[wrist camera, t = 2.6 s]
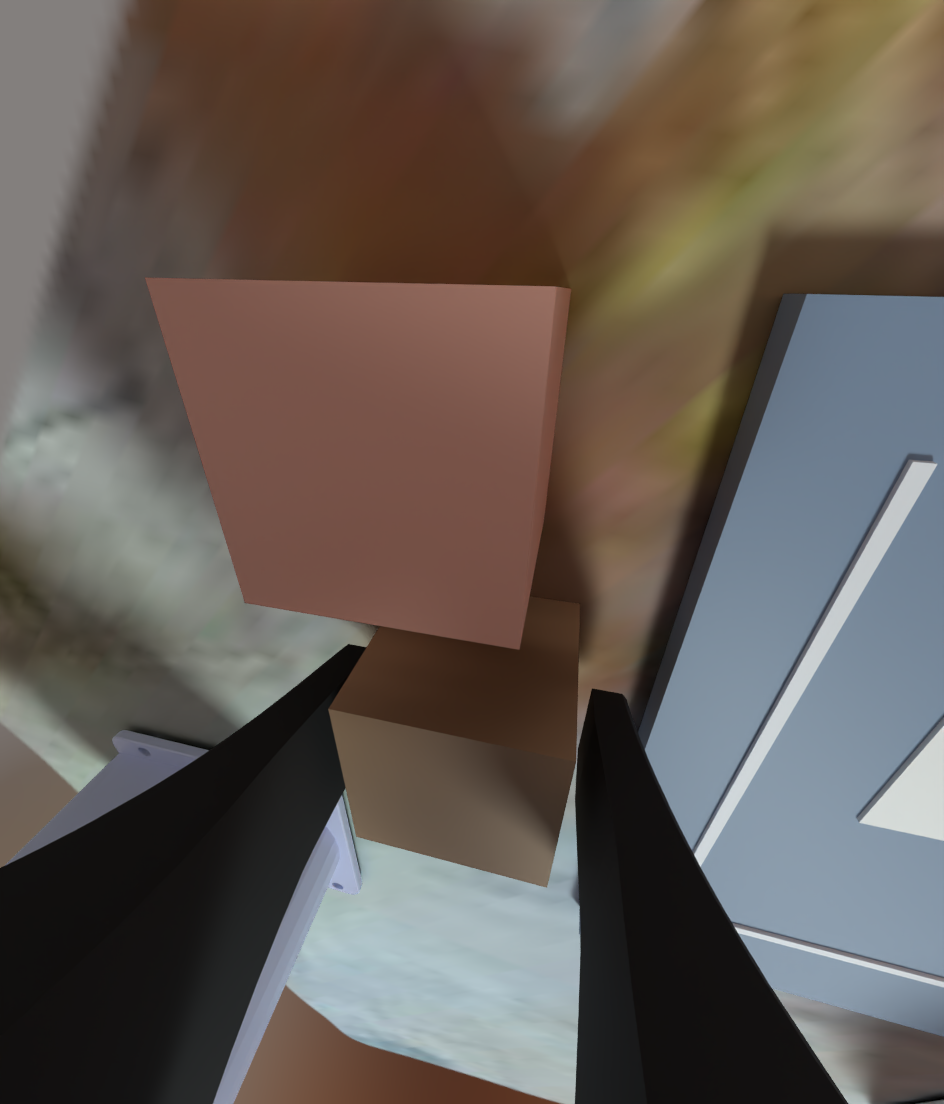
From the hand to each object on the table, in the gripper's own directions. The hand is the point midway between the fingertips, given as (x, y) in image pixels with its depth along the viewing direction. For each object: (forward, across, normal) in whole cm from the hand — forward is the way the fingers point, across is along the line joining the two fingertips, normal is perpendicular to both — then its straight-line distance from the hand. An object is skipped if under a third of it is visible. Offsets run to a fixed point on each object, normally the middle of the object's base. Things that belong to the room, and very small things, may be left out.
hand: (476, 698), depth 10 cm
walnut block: (+2, 0, 0) cm, 2 cm away
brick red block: (+2, +1, -6) cm, 6 cm away
